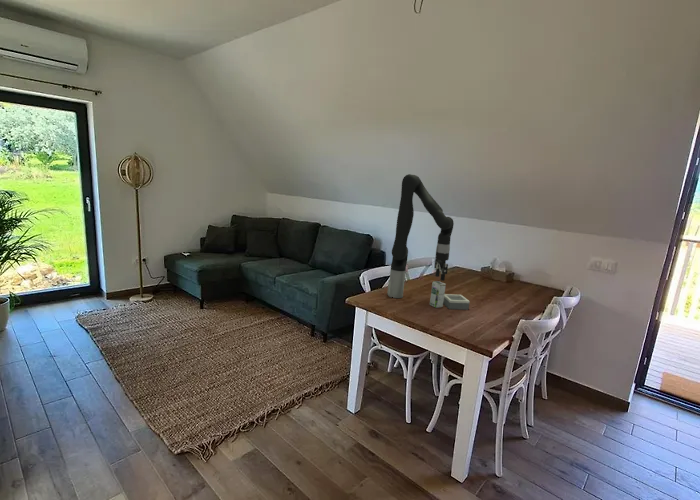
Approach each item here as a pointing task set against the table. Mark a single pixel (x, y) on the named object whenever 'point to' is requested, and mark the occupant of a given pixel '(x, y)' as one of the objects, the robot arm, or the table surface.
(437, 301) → the syrup box
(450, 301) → the plinth
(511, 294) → the table surface
